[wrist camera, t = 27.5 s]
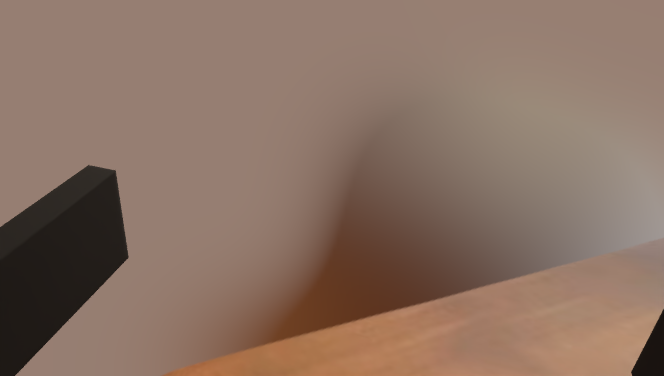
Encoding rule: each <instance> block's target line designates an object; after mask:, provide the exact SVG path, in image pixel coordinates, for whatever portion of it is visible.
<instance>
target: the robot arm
mask: <svg viewBox="0 0 664 376" xmlns="http://www.w3.org/2000/svg"><path fill="white" fill-rule="evenodd" d="M126 259H128V251H127V245H126V237H125V231H124V224H123V218H122V210H121V204H120V197H119V190H118V183H117V177H116V171H115V170H110V169H105V168H100V167H95V166H89V165H88V166H87V167H85V168H84V169H83V170H81V171H80V172H78V173H77V174H75V175H74V176H72V177H71V178H70V179H68V180H67V181H65V182H64V183H63V184H61V185H60V186H58V187H57V188H56V189H54V190H53V191H51V192H50V193H48V194H47V195H45V196H44V197H43V198H41V199H40V200H38V201H37V202H36V203H34V204H33V205H31V206H30V207H28V208H27V209H25V210H24V211H23V212H21V213H20V214H18V215H17V216H15V217H14V218H13V219H11V220H10V221H9V222H7V223H5V224H4V225H3V226H1V227H0V376H15V375H16V374H17V373H18V372H19V371H20V370H21V369H22V368H23V367H24V366H25V365H26V364H27V362H29V361H30V359H31V358H32V357H33V356H34V355H35V354H36V353H37V352H38V351H39V350H40V349H41V348H42V347H43V346H44V345H45V344H46V343H47V342H48V341H49V340H50V339H51V338H52V337H53V335H55V334H56V333H57V331H58V330H59V329H60V328H61V327H62V326H63V325H64V324H65V323H66V322H67V321H68V320H69V319H70V318H71V317H72V316H73V315H74V314H75V313H76V312H77V311H78V310H79V309H80V307H82V305H83V304H84V303H85V302H86V301H87V300H88V299H89V298H90V297H91V296H92V295H93V294H94V293H95V292H96V291H97V290H98V289H99V287H101V286H102V285H103V284H104V283H105V282H106V280H107V279H108V278H109V277H110V276H111V275H112V274H113V273H114V272H115V271H116V270H117V269H118V268H119V267H120V266H121V265H122V264H123V263H124V262H125V261H126ZM631 373H632V376H664V309H663V311H662V313H661V315H660V317H659V319H658V321H657V323H656V325H655V327H654V329H653V331H652V333H651V335H650V337H649V339H648V340H647V342H646V344H645V346H644V348H643V350H642V352H641V354H640V356H639V358H638V360H637V362H636V364H635V366H634V368H633V370H632V372H631Z"/></svg>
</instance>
